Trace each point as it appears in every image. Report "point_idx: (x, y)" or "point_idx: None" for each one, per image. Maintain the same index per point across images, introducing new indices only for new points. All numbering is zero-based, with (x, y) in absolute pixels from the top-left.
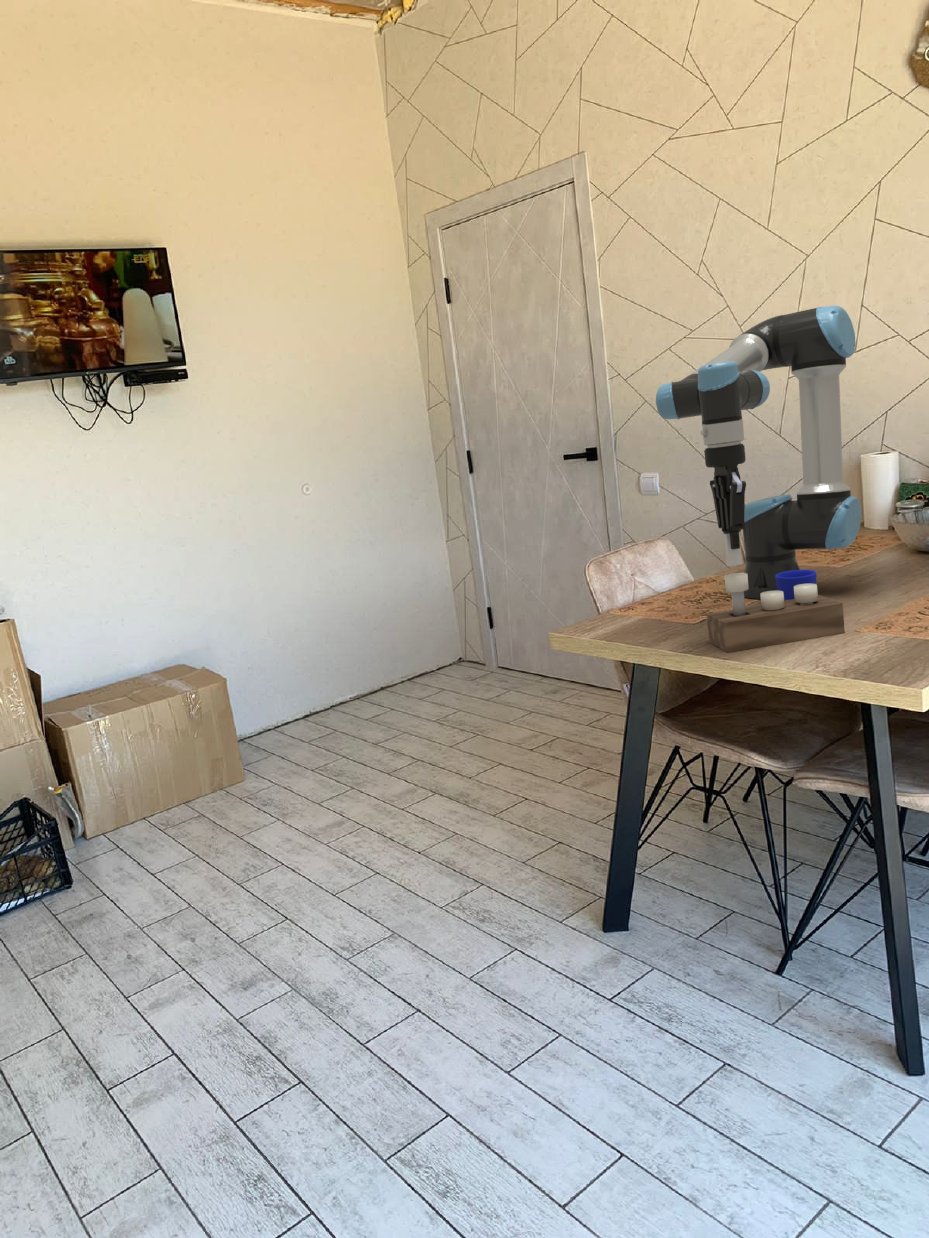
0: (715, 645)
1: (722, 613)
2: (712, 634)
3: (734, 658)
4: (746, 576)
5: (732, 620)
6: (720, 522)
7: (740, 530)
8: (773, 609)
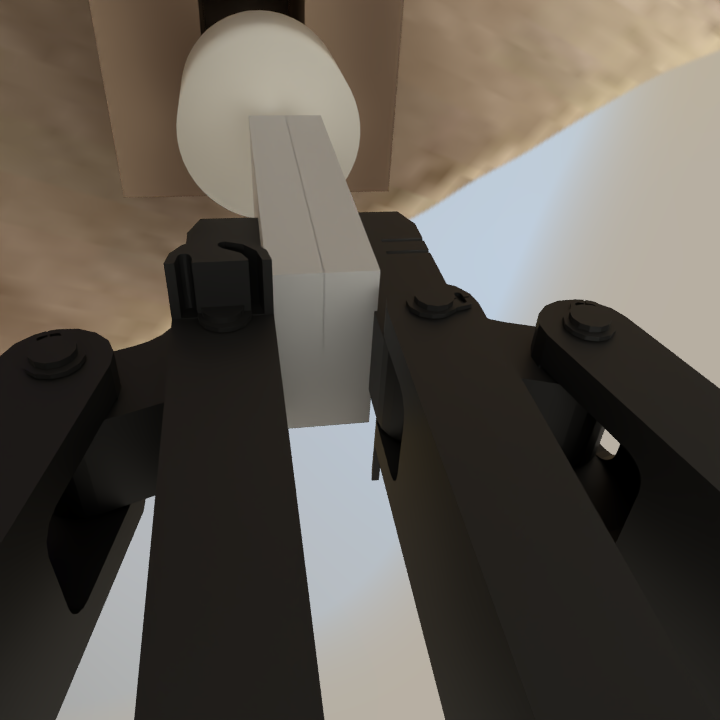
0: None
1: (171, 126)
2: None
3: (454, 144)
4: (337, 68)
5: (366, 141)
6: (128, 534)
7: (465, 296)
8: None
